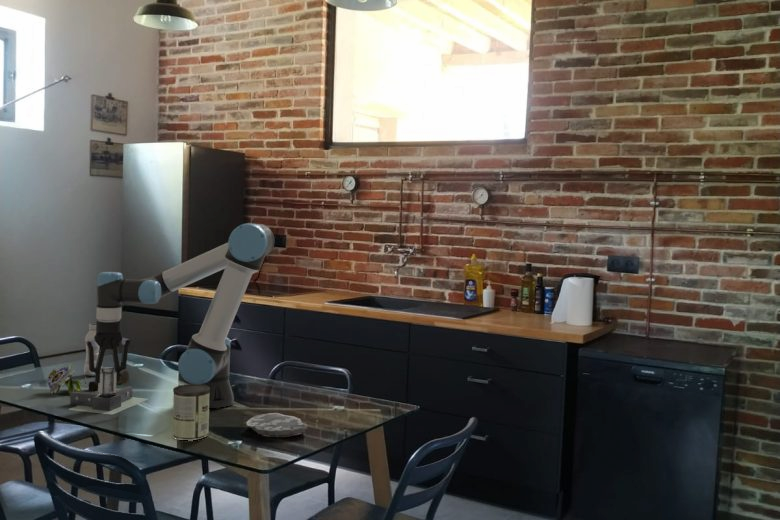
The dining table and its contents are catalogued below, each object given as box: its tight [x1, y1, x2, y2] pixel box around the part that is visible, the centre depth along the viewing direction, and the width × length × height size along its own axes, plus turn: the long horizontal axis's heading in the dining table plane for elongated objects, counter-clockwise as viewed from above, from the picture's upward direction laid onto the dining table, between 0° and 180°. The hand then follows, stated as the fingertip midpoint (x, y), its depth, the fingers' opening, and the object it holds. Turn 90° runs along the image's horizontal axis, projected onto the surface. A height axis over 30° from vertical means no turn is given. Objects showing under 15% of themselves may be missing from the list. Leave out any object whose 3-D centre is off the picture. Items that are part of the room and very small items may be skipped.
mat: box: [68, 396, 149, 416], centre depth 237 cm, size 16×21×1 cm
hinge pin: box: [101, 366, 115, 398], centre depth 232 cm, size 4×4×13 cm
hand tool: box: [88, 370, 130, 392], centre depth 262 cm, size 19×4×5 cm, turn 158°
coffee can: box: [172, 383, 210, 442], centre depth 208 cm, size 10×10×14 cm
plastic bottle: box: [83, 323, 103, 377], centre depth 277 cm, size 6×7×20 cm
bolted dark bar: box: [112, 385, 133, 402], centre depth 240 cm, size 1×10×4 cm, turn 167°
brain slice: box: [245, 412, 309, 435], centre depth 216 cm, size 20×17×3 cm
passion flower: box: [46, 364, 88, 396], centre depth 250 cm, size 11×11×12 cm
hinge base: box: [69, 391, 121, 411], centre depth 233 cm, size 16×6×4 cm, turn 77°
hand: (107, 392), depth 232 cm, fingers open, 3 cm apart
